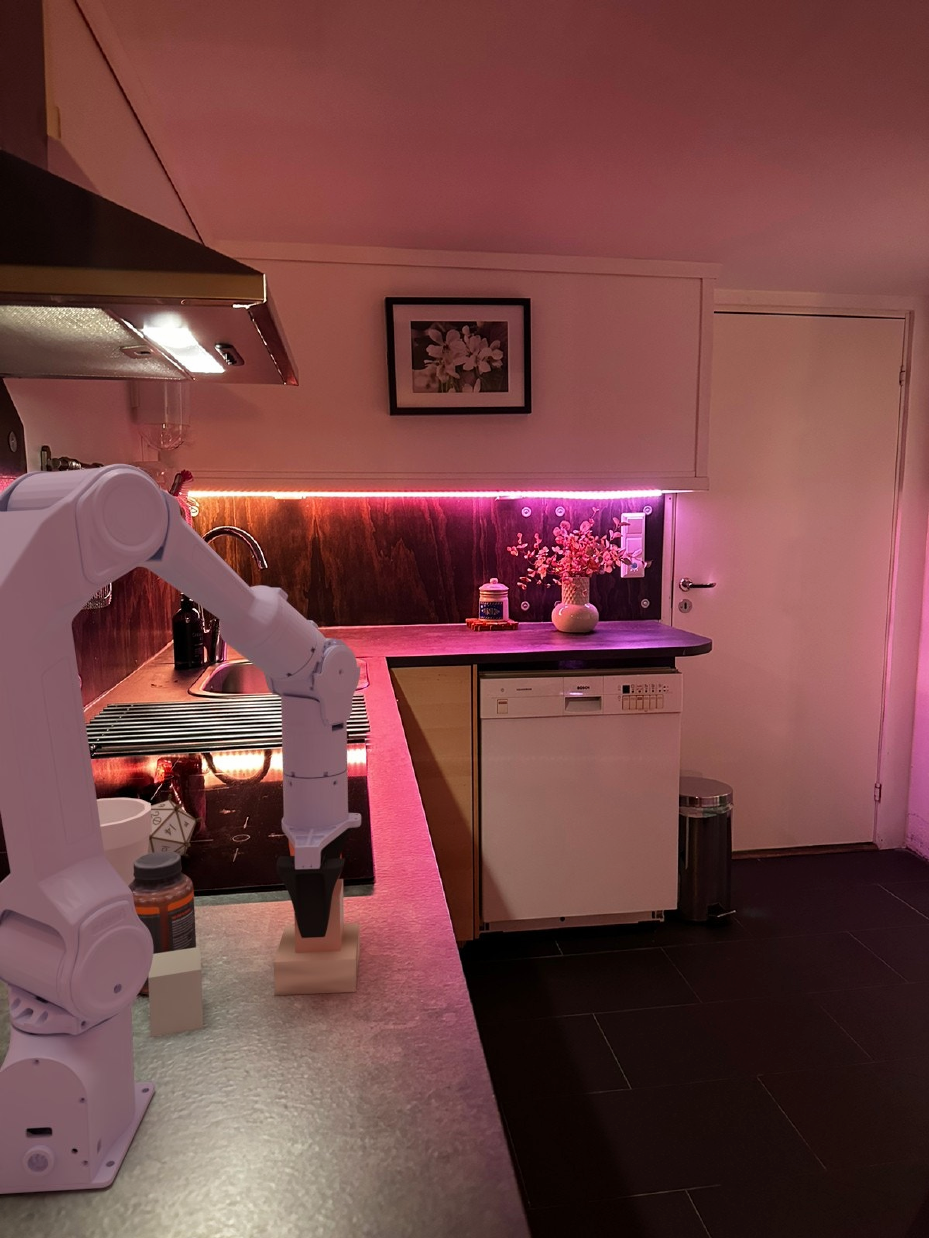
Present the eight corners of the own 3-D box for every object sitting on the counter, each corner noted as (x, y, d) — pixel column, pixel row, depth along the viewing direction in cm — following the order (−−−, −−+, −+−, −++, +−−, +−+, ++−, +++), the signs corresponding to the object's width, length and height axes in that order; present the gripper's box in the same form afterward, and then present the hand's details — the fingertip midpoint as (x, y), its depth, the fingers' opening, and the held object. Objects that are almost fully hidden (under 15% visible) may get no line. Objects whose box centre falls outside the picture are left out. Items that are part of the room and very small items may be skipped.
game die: (180, 892, 102) (213, 838, 98) (110, 882, 98) (141, 825, 94) (181, 837, 109) (211, 785, 106) (115, 825, 105) (145, 770, 101)
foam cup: (165, 915, 88) (160, 795, 86) (144, 957, 78) (139, 824, 77) (70, 921, 86) (64, 800, 85) (38, 965, 77) (32, 830, 76)
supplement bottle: (205, 962, 77) (201, 845, 76) (186, 997, 71) (181, 870, 70) (141, 964, 77) (136, 846, 76) (116, 998, 71) (111, 872, 70)
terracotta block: (340, 950, 73) (339, 896, 73) (295, 952, 73) (293, 898, 73) (343, 930, 77) (342, 878, 77) (300, 931, 77) (299, 880, 77)
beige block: (203, 1028, 67) (201, 969, 66) (150, 1037, 66) (148, 977, 65) (201, 1002, 71) (200, 946, 70) (152, 1011, 69) (150, 954, 69)
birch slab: (355, 991, 72) (354, 958, 72) (274, 995, 72) (273, 962, 71) (359, 952, 79) (359, 922, 79) (286, 955, 79) (285, 925, 78)
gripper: (355, 792, 67) (357, 952, 68) (364, 749, 81) (365, 882, 82) (267, 794, 66) (271, 956, 68) (291, 750, 81) (294, 884, 82)
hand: (318, 916), depth 75 cm, fingers open, 7 cm apart
